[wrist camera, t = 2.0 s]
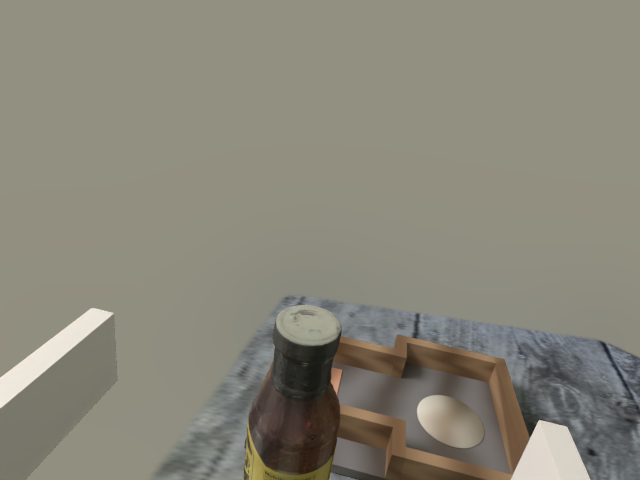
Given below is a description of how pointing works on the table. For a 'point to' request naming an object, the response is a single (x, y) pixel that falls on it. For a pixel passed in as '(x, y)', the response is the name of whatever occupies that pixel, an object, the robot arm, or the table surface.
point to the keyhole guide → (424, 413)
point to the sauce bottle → (296, 401)
